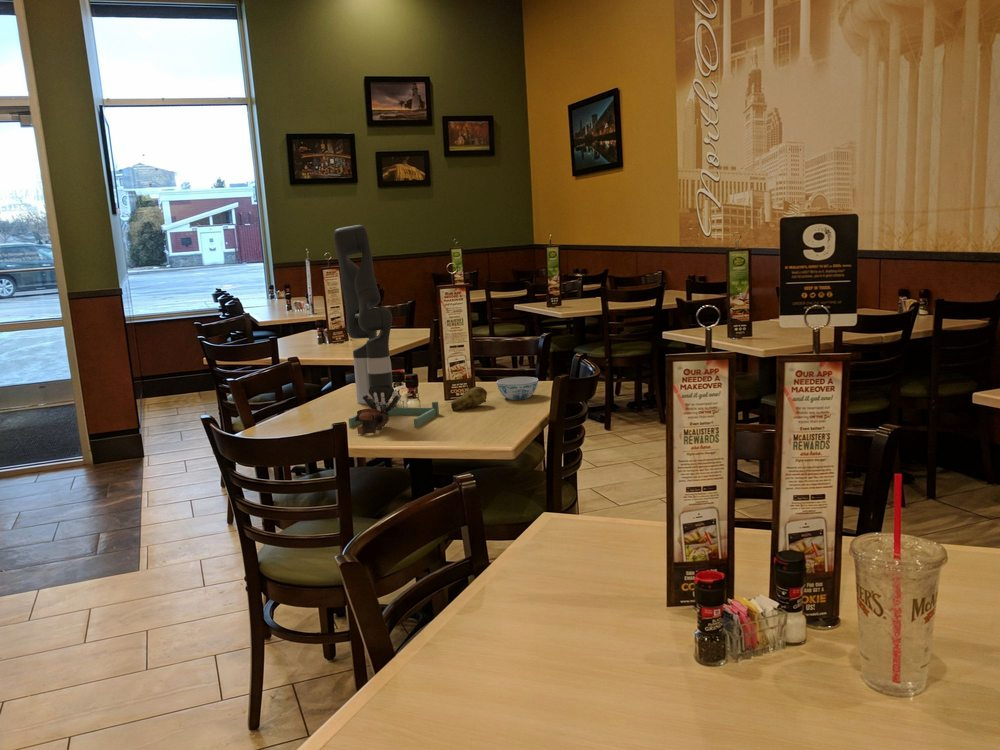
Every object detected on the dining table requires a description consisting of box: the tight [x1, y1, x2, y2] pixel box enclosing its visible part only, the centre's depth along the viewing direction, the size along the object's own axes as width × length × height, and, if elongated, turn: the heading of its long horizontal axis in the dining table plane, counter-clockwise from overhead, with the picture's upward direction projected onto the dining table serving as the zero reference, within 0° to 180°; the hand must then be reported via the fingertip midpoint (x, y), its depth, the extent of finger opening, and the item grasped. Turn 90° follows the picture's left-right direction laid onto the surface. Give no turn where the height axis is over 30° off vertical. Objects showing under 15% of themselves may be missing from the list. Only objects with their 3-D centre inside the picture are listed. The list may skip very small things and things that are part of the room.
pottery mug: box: [355, 408, 388, 435], centre depth 264 cm, size 12×9×8 cm
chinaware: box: [496, 376, 539, 401], centre depth 300 cm, size 15×15×8 cm
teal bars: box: [348, 401, 440, 428], centre depth 277 cm, size 18×25×5 cm
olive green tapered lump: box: [450, 386, 488, 412], centre depth 288 cm, size 8×13×8 cm, turn 98°
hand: (384, 423), depth 269 cm, fingers closed
